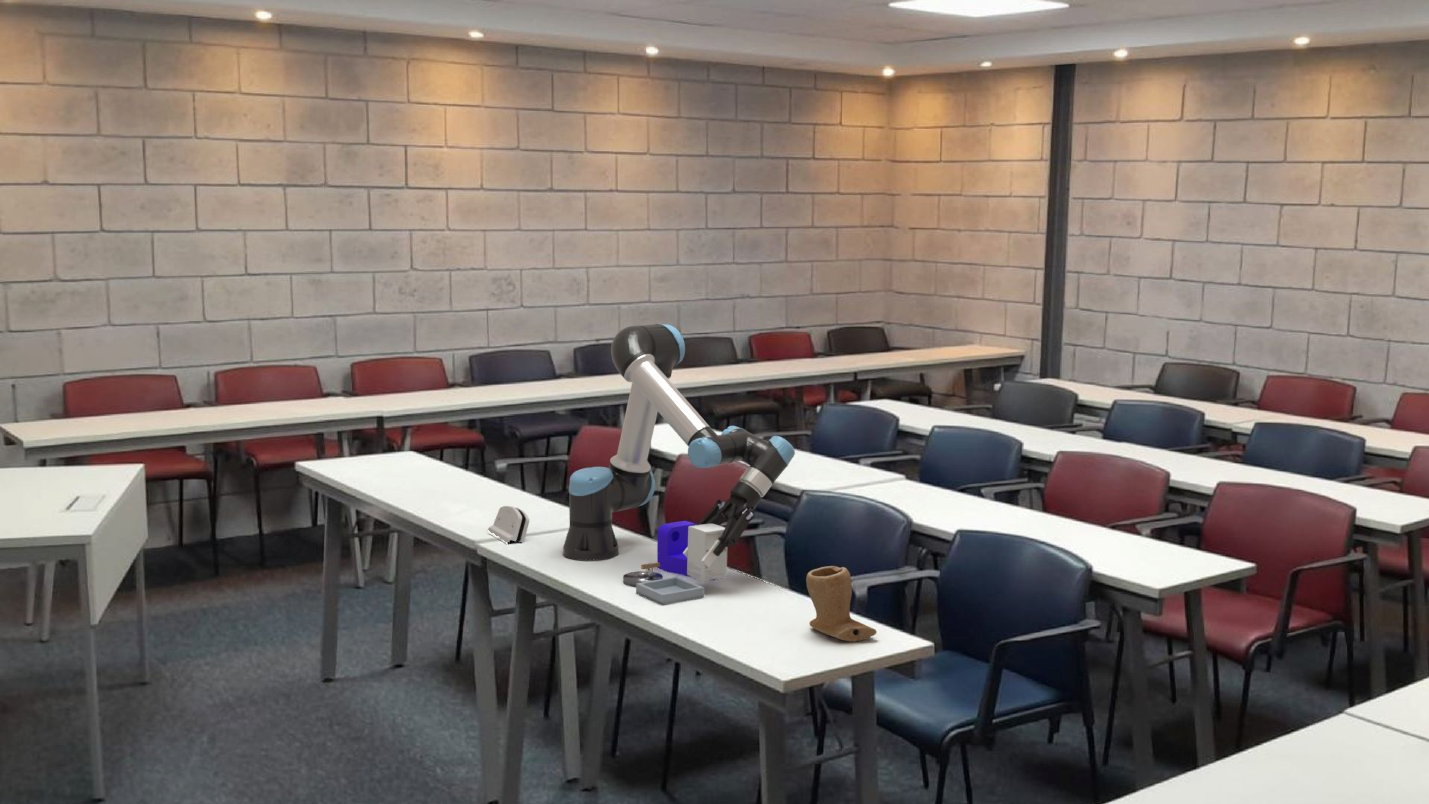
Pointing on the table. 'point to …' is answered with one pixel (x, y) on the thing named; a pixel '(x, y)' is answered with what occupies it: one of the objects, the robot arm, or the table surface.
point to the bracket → (673, 547)
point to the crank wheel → (642, 575)
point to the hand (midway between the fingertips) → (695, 560)
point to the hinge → (510, 524)
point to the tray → (669, 590)
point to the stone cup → (834, 604)
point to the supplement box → (699, 545)
